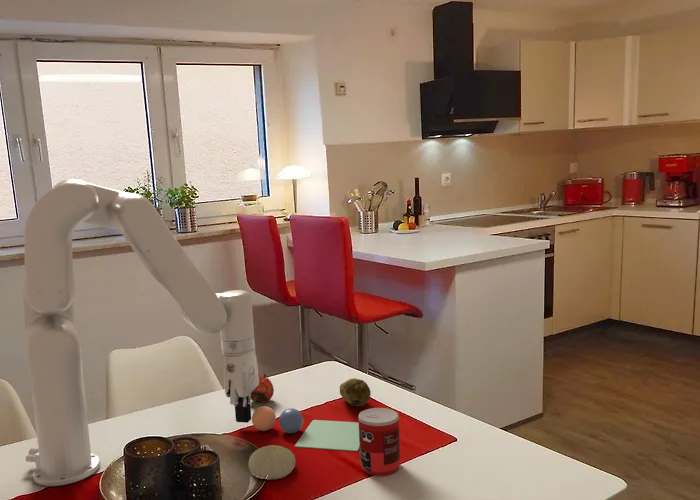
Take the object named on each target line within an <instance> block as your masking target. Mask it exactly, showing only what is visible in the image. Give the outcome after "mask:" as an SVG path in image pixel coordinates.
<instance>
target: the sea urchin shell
mask: <svg viewBox="0 0 700 500" xmlns="http://www.w3.org/2000/svg"><path fill="white" fill-rule="evenodd" d="M247 466H248V469H250V470H249V472H250V473H251V475H252V474H254V475H255V476H258V477H262V476H266V475H268V477H267V480H266V481H271V480H278V479H283V478H285V477H287V476H288V475H289V474H291V473H292V471H293V470H294V468H296V467H295V466H296V457H295V454H294V453H293V452H292V450H291V449H288V448H286V447H284V446H281V445H276V444H275V445H274V444H272V445H271V444H270V445H266V446H262V447H259V448H258V449H256V450H254V451H253V452H252V453H251V454H250V456H249V458H248V465H247ZM255 476H254V477H255Z"/></svg>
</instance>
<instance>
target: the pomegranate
mask: <svg viewBox="0 0 700 500" xmlns="http://www.w3.org/2000/svg"><path fill="white" fill-rule="evenodd" d="M266 375H267V374H266V373H264V374H263V375H259V384H258V386H257V387H256V388H255V389H254V390H253V391H252V392H251V401H253V403H252V404H251V406H250V407H251V409H253V407H254V406H255V404H256V402H258V403H259V402H262V403H268V402H269V401H271V399H272V398H273V396H274V392H275V390H274V385H273V382H272V381H271V380H270V379H269V378H267V377H266Z"/></svg>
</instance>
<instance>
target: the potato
mask: <svg viewBox="0 0 700 500" xmlns="http://www.w3.org/2000/svg"><path fill="white" fill-rule="evenodd" d="M339 394H340V396H341V397H342V398H343V400H344V401H345V402H347V403H348V404H349V405H351V406H353V407H362V406H364V405H366V404H367V403H368V402H369V401H370V400H371V396H372V395H371V388H370V387H369V385H368V384H367V382H366V381H364V380H363V379H359V378H350V379H348V380H345V381H344V382H343V383H341V384H340V385H339Z"/></svg>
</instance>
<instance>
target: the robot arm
mask: <svg viewBox="0 0 700 500" xmlns="http://www.w3.org/2000/svg"><path fill="white" fill-rule="evenodd" d="M82 223H84V224H88V225H94V226H98V227H103V228H107V229H114V230H118V231H119V232H120V233H121V235H122V236H123V238H124V239H125V241H126V242H127V244H128V245H130V247H131V249H132V251H134V253H135V255H136V257H138V258H139V260H140V262H141V263H142V264H143V265H144V268H145V269H147V272H149V274H150V275H151V276H152V277H153V279H155V281H157V282H158V284H160V285H161V286H162V287H163V288H164V289H165V290H166V291H167V292H168V293H169V294H170V295H171V297H172V298H173V299H174V300H175V301H176V303H177V304H178V305H179V307H180V311H181V312H180V314H181V316H182V318H183V320H184V321H185V322H186V323H187V324H188V325H189V326H190V327H191V328H193V329H194V330H195V331H197V332H198V333H200V334H202V335H204V336H205V335H206V336H211V335H216V334H218V333H219V332H220V345H221V346H220V347H221V354H222V355H223V386H224V387H223V388H224V394H225V397H227V398H229V399H230V401H229V404H230V405H233V406H234V413H235V414H234V415H235V421H236V423H246V424H248V423H249V422H250V421H252V412H251V411H252V408H251V407H252V406H251V401H252V400H251V392H252V391H253V390H254V389H255V388H256V387H257V386H258V384H259V376H260V375H259V367H258V359H257V354H256V344H255V343H256V342H255V329H254V316H253V315H254V314H253V301H252V296H251V295H252V294H251V293H250V292H249V291H247V290H243V289H235V290H228V291H227V290H226V291H224V292H221V293H220V292H218V293H216V292H215V290H214V289H213V288H212V286H211V285H210V284H209V282H208V280H207V279H206V278H205V277H204V275H203V274H202V273H201V271H200V270H199V269H198V267H197V266H196V265H195V263H194V262H193V260H192V259H191V258H190V256H189V255H188V254H187V253H186V252H187V251H185V250H184V248H183V247H182V246H181V244H180V243H179V240H178V239H177V238H176V237H175V235H174V234H173V233H172V231H171V230H170V228H169V227H168V225H167V224H166V222H165V221H164V219H163V217H162V216H161V215H160V213H159V212H158V210H157V209H156V207H155V206H154V205H153V203H152V202H151V201H150V200H149V199H148V198H147V197H146V196H144V195H142V194H139V193H134V192H133V193H132V192H127V191H126V192H125V191H121V190H117V189H113V188H109V187H104V186H101V185H98V184H97V185H96V184H93V183H90V182H88V181H85V180H82V179H78V178H69V179H64V180H60V181H59V182H58V183H56V184H55V186H53V187H52V189H49V190H48V191H47V192H45V193H44V194H43V195H42V196H40V197H39V198H38V200H37V201H36V202H35V203H34V204H33V206H32V208H31V210H30V211H29V213H28V215H27V218H26V221H25V225H24V226H25V227H24V232H23V233H24V237H23V238H24V241H23V243H24V274H25V275H24V277H23V280H22V302H23V317H24V318H23V319H24V330H25V332H24V333H25V335H24V336H25V346H26V347H25V348H26V356H27V357H26V358H27V363H28V364H27V365H28V371H29V379H30V387H31V388H30V390H31V398H32V404H33V412H34V413H33V414H34V421H35V430H36V431H35V432H36V438H37V447H30V449H29V451H28V454H27V455H26V456H25V462H27V463H35V468H34V470H33V472H32V478H33V481H34V482H35V483H36V484H37V485H40V486H45V487H57V486H58V487H60V486H64V485H65V486H66V485H69V484H72V483H73V484H74V483H76V482H79V481H82V480H84V479H86V478H89V477H90V476H91V475H93V474H94V473H96V472H97V470H99V467H101V466H100V465H101V459H100V457H99V456H98V455H97V454H94V453H92V450H91V442H90V441H91V439H90V430H89V422H88V421H89V420H88V410H87V401H86V394H85V393H86V392H85V384H84V382H85V381H84V375H83V373H84V372H83V352H82V351H83V350H82V344H81V343H82V342H81V338H80V336H79V334H78V331H77V329H76V328H75V327H76V326H75V315H74V313H75V312H74V299H75V296H76V292H77V291H76V282H75V276H74V262H73V260H74V259H73V237H74V233H75V230H76V229H77V227H78V226H79V225H80V224H82Z"/></svg>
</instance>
